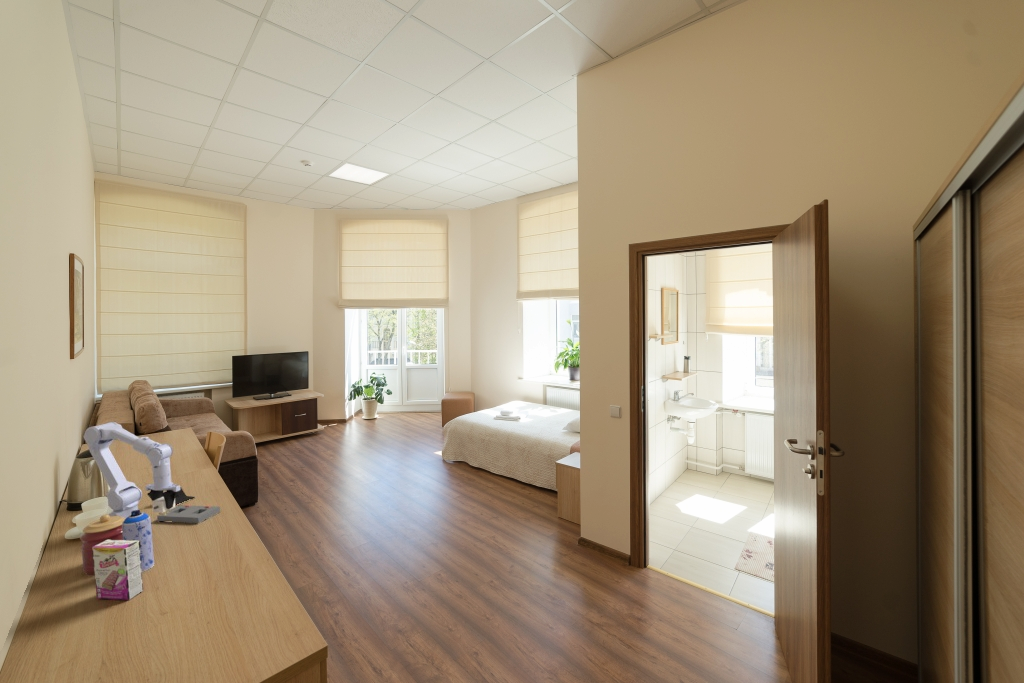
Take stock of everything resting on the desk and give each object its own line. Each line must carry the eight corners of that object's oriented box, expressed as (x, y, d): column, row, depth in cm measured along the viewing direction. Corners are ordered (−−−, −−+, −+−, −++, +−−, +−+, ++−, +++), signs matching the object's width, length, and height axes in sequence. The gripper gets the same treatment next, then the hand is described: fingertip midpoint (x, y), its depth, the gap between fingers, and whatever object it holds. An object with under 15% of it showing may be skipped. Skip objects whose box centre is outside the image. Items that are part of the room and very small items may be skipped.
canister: (75, 569, 153) (71, 519, 152) (122, 551, 164) (118, 504, 163) (92, 578, 147) (88, 526, 146) (140, 559, 158) (136, 510, 157)
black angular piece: (176, 504, 203) (165, 486, 205) (164, 514, 204) (153, 496, 205) (197, 497, 215) (186, 480, 216) (186, 507, 215) (175, 490, 217)
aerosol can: (119, 576, 147) (114, 517, 146) (132, 564, 155) (128, 507, 154) (147, 572, 149) (143, 513, 148) (159, 560, 157) (155, 504, 156)
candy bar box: (95, 600, 135) (90, 547, 134) (111, 590, 140) (107, 538, 139) (129, 601, 134) (124, 547, 133) (144, 591, 139) (140, 539, 138)
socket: (198, 523, 186) (198, 516, 185) (157, 521, 189) (156, 514, 189) (220, 512, 196) (219, 505, 196) (180, 510, 200) (180, 503, 200)
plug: (160, 518, 178) (159, 502, 178) (150, 518, 179) (149, 502, 179) (175, 511, 185) (174, 496, 185) (166, 511, 186) (165, 495, 186)
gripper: (186, 472, 185) (188, 504, 185) (156, 471, 187) (158, 503, 188) (170, 478, 178) (172, 511, 178) (139, 477, 180) (141, 510, 181)
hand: (164, 507), depth 183 cm, fingers closed on plug, 5 cm apart
